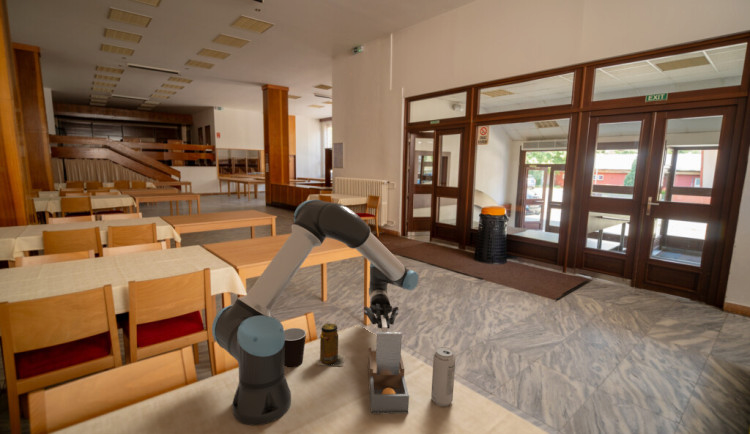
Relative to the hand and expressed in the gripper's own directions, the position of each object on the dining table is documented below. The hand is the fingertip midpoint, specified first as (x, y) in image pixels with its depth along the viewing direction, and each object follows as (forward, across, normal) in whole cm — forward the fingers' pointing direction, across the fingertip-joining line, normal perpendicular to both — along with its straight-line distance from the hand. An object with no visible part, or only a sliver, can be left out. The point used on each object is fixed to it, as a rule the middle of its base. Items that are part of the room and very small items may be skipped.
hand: (384, 331), depth 111 cm
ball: (+17, 0, -10) cm, 20 cm away
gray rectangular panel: (+12, 0, -7) cm, 14 cm away
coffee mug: (-5, +30, -13) cm, 33 cm away
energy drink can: (+16, -15, -13) cm, 26 cm away
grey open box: (+16, 0, -13) cm, 21 cm away
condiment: (-5, +17, -14) cm, 23 cm away
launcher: (+6, 0, -13) cm, 14 cm away
